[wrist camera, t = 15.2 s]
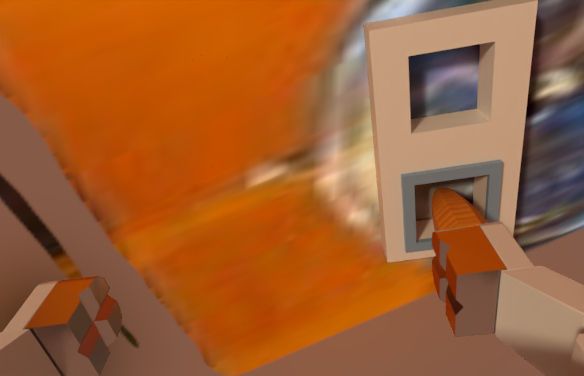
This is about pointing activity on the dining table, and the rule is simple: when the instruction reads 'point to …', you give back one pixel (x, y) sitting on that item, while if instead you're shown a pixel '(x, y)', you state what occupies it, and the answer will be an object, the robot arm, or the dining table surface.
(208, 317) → the dining table surface
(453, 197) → the carrot
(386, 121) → the duct block
